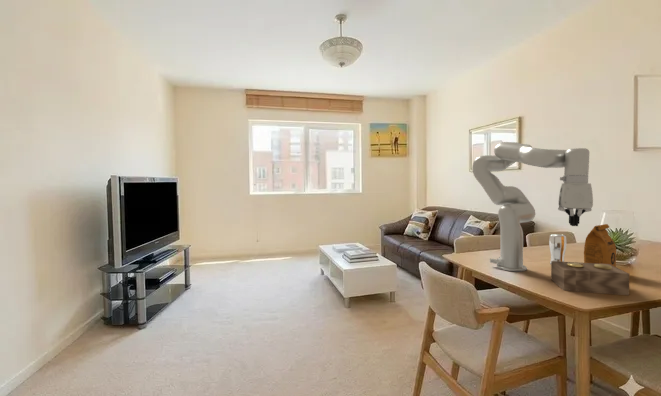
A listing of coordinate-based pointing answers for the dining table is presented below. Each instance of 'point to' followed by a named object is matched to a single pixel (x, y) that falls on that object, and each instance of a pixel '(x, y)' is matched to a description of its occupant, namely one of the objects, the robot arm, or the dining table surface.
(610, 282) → the walnut block
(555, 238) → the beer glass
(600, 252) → the coffee package
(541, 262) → the dining table surface
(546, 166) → the robot arm
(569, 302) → the dining table surface
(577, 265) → the brass peg
